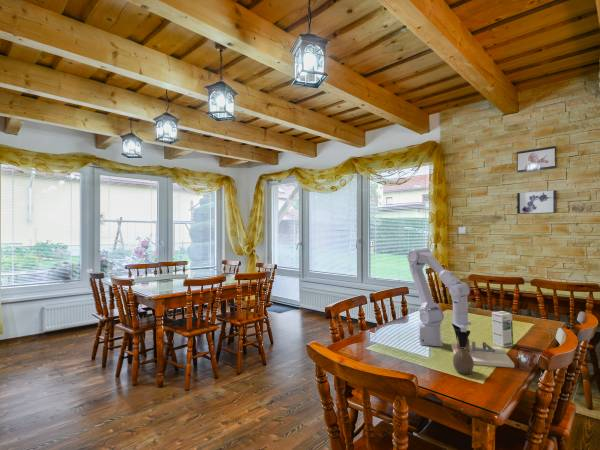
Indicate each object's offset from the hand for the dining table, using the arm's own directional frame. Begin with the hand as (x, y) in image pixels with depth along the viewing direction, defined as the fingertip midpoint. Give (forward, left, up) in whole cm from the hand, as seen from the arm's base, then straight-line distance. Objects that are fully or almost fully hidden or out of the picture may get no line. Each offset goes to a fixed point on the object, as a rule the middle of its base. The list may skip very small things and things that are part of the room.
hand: (461, 344), depth 144 cm
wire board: (+7, -2, -4) cm, 8 cm away
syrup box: (+20, +15, -4) cm, 25 cm away
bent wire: (+7, -3, -3) cm, 8 cm away
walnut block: (+1, 0, -2) cm, 3 cm away
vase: (-2, -19, -4) cm, 20 cm away
